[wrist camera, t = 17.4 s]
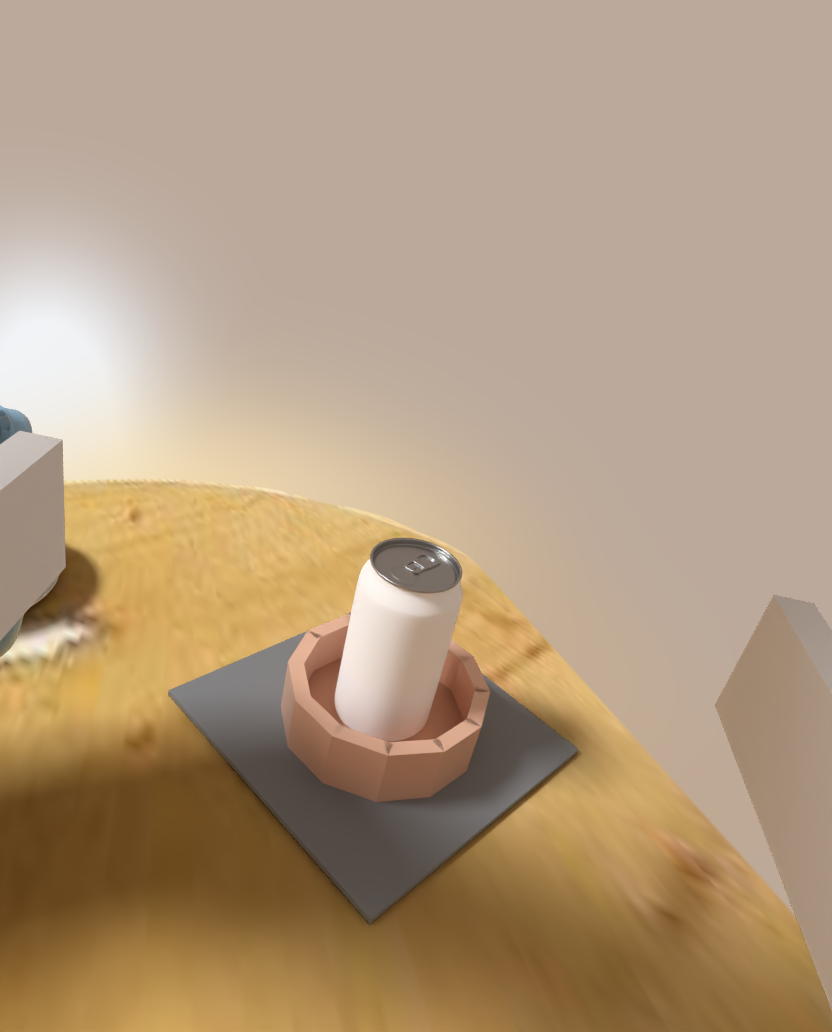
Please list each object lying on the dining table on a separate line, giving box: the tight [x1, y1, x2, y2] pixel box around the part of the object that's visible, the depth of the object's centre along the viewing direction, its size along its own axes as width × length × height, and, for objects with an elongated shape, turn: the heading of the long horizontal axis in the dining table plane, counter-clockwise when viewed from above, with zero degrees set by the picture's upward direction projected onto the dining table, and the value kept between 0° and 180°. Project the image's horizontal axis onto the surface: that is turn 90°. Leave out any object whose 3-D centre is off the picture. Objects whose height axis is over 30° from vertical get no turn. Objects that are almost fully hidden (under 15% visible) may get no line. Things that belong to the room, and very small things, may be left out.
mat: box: [168, 613, 579, 924], centre depth 52 cm, size 20×20×1 cm
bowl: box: [281, 614, 490, 802], centre depth 51 cm, size 13×13×4 cm
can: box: [334, 538, 463, 742], centre depth 48 cm, size 6×6×12 cm
